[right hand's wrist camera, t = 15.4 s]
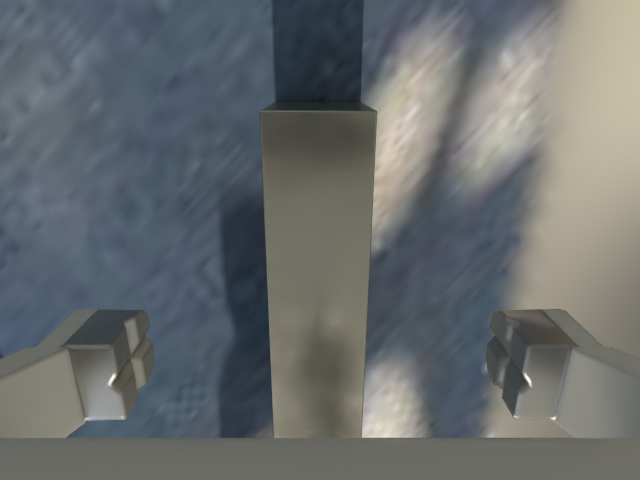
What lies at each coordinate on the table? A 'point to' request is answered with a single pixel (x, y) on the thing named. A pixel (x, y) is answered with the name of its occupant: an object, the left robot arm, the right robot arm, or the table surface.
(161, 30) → the table surface
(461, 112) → the table surface
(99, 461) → the right robot arm
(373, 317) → the table surface
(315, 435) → the box
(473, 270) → the table surface
